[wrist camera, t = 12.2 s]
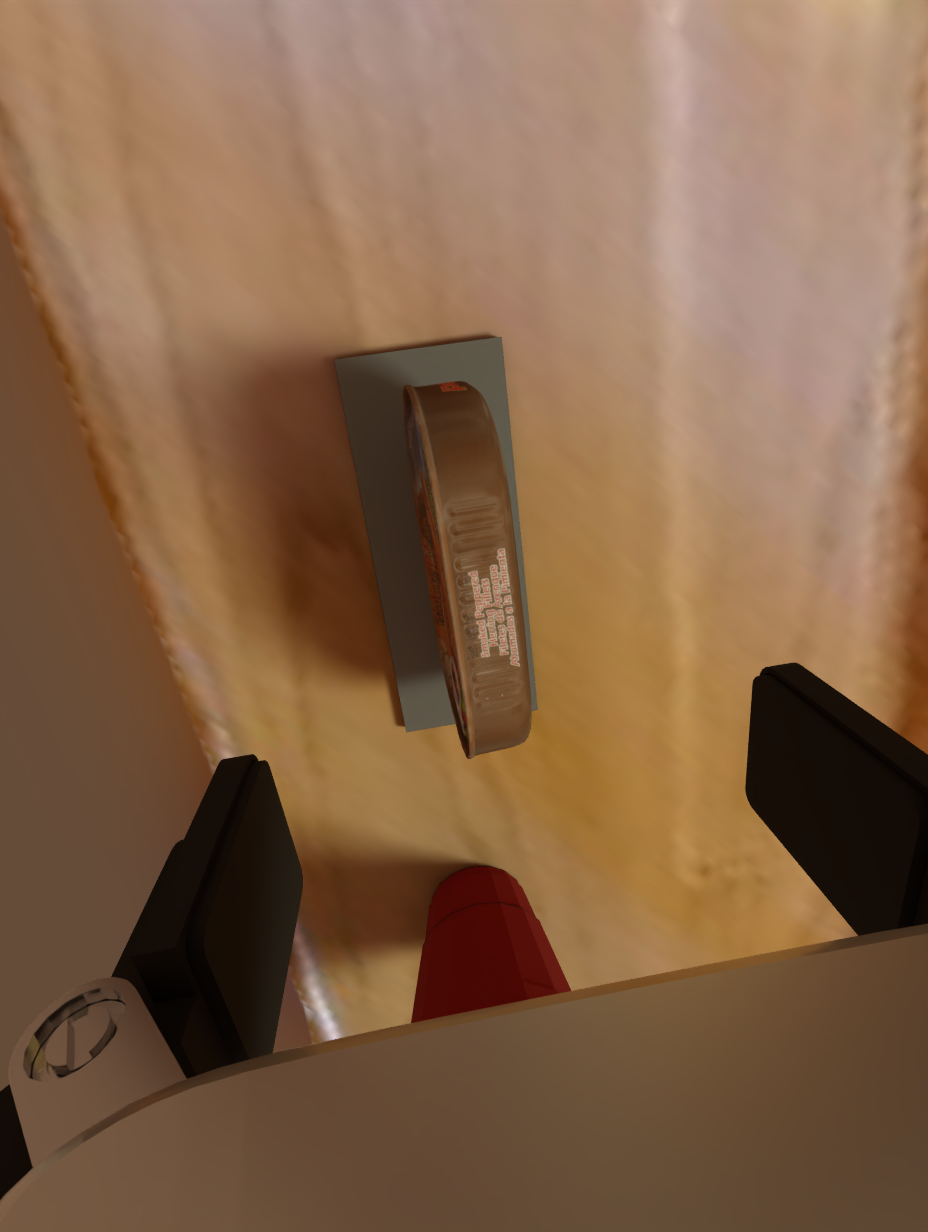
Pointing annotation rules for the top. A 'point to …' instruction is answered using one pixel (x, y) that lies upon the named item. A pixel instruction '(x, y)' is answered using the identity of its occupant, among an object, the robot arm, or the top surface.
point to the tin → (470, 562)
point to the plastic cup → (483, 947)
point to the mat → (391, 509)
